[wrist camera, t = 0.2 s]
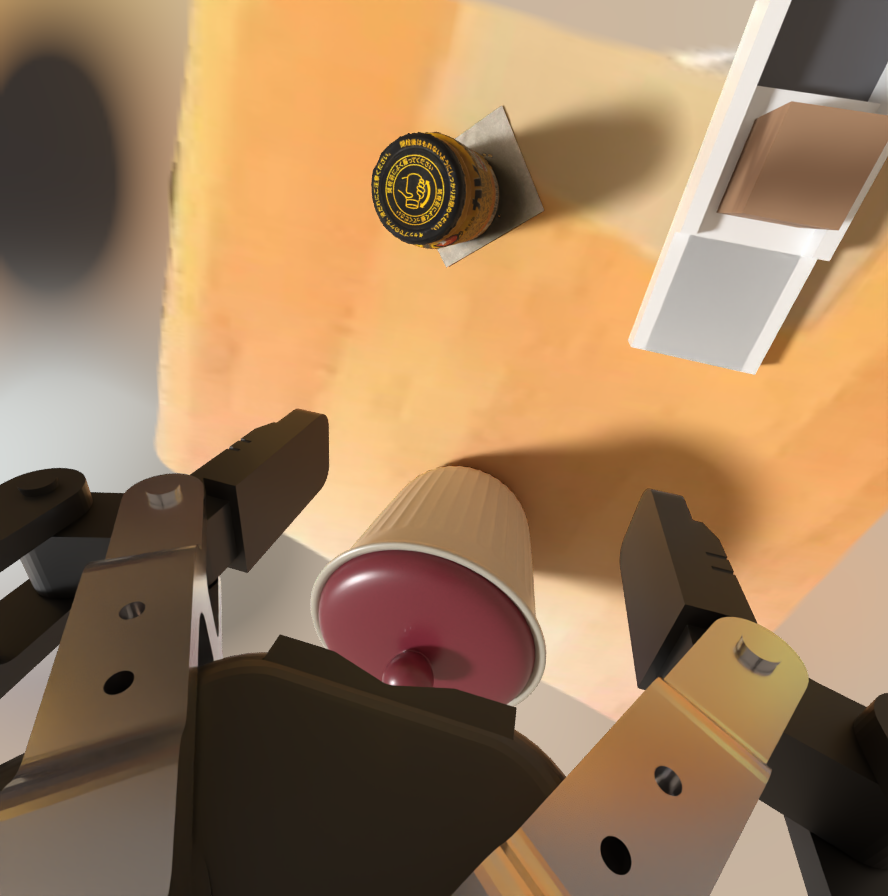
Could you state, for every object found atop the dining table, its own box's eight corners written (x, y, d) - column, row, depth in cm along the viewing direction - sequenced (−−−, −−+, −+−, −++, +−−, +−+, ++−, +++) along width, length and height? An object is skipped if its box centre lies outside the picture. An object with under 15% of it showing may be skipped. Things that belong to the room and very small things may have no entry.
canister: (485, 602, 53) (443, 807, 35) (357, 517, 51) (243, 683, 33) (591, 507, 43) (608, 718, 25) (438, 400, 42) (342, 543, 24)
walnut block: (755, 118, 27) (791, 101, 22) (845, 133, 26) (900, 117, 22) (716, 212, 29) (742, 213, 25) (797, 227, 28) (838, 230, 24)
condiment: (402, 176, 34) (331, 162, 24) (502, 105, 31) (469, 53, 21) (446, 267, 37) (399, 289, 26) (544, 210, 33) (534, 210, 23)
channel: (792, -98, 24) (825, -143, 21) (980, -80, 23) (1043, -125, 20) (627, 340, 36) (633, 352, 33) (745, 366, 35) (762, 381, 32)
